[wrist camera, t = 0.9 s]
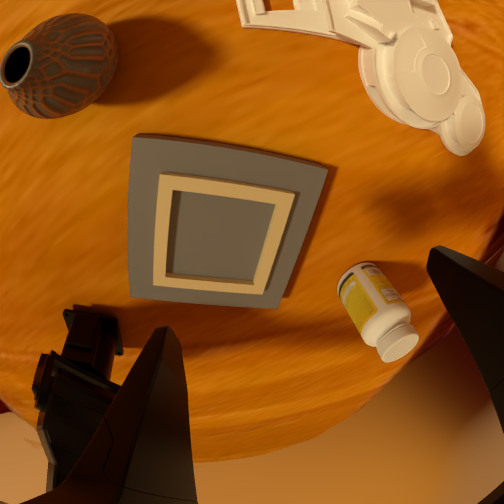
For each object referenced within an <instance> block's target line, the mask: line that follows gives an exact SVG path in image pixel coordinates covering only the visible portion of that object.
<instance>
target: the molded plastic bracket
mask: <svg viewBox="0 0 504 504" xmlns="http://www.w3.org/2000/svg"><path fill="white" fill-rule="evenodd" d="M236 3H237V8H238V12H239V16H240V21H241V25H242V28H252V29H268V30H279V31H288V32H296V33H303V34H309V35H315V36H320V37H326V38H331V39H335V40H340V41H344V42H348V43H352V44H356V45H360V47H359V54H358V64H359V71H360V76H361V79H362V82H363V85H364V88H365V90H366V92H367V94H368V95H369V97H370V99H371V100H372V102H373V103H374V104H375V106H376V107H377V108H378V109H379V110H380V111H381V112H382V113H383V114H385V115H386V116H387V117H389V118H390V119H392V120H394V121H397V122H400V123H403V124H407V125H409V126H412V127H415V128H420V129H429V130H432V131H433V132H435V133H437V134H438V135H439V136H440V137H441V140H442V142H443V144H444V146H445V147H446V148H447V149H448V150H449V151H450V152H452V153H454V154H456V155H459V156H463V155H467V154H469V153H470V152H471V151H472V150H473V149H474V148H476V147H477V146H478V145H479V143H480V142H481V140H482V138H483V135H484V131H485V114H484V110H483V107H482V102H481V98H480V95H479V92H478V90H477V89H476V87H475V86H474V85H473V83H472V82H471V81H470V79H469V78H468V77H467V75H466V74H465V73H464V71H463V70H462V69H461V68H460V65H459V62H458V59H457V57H456V55H455V53H454V51H453V49H452V48H451V42H452V39H453V35H452V32H451V30H450V28H449V26H448V24H447V22H446V20H445V17H444V15H443V13H442V11H441V9H440V6H439V4H438V2H437V0H293V4H294V8H295V10H280V11H265V6H264V2H263V0H236Z"/></svg>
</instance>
